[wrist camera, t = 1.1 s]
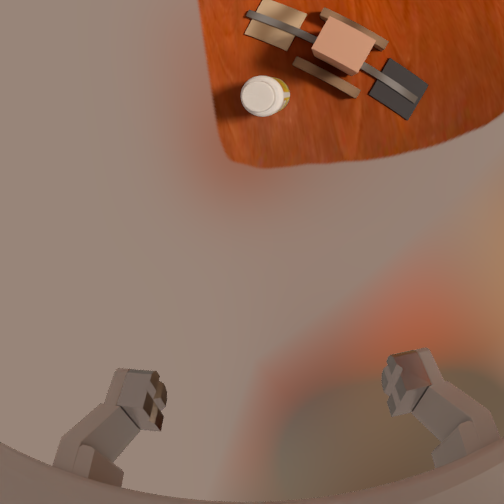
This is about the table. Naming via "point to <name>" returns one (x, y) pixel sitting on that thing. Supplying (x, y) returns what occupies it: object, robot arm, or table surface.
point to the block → (342, 46)
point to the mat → (271, 32)
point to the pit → (392, 96)
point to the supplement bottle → (264, 95)
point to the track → (326, 75)
